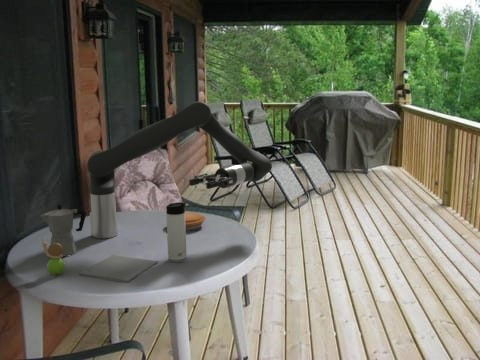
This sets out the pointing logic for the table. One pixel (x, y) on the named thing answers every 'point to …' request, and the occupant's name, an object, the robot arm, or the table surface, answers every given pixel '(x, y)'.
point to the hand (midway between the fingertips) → (198, 184)
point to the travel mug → (176, 232)
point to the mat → (119, 268)
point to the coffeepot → (64, 227)
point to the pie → (193, 221)
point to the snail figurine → (54, 257)
